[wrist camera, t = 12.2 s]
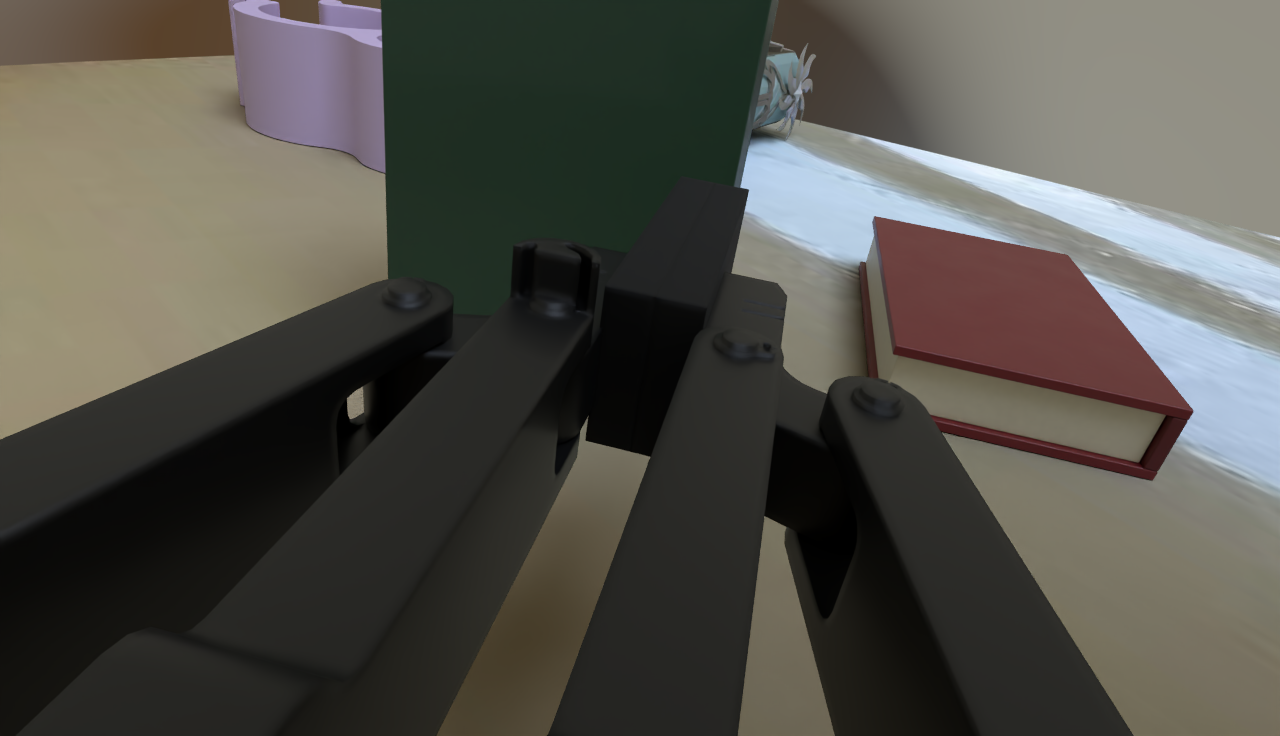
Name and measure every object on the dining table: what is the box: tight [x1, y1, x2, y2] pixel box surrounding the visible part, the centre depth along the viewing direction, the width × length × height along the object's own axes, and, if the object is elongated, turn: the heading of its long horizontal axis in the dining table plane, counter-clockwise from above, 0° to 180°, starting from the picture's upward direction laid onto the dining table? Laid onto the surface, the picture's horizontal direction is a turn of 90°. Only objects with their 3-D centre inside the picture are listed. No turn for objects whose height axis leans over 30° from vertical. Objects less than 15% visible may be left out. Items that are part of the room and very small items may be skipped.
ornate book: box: [752, 41, 816, 139], centre depth 63 cm, size 23×10×30 cm
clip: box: [228, 0, 385, 173], centre depth 50 cm, size 20×12×7 cm, turn 50°
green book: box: [381, 0, 779, 315], centre depth 24 cm, size 3×11×17 cm, turn 78°
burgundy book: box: [859, 216, 1193, 480], centre depth 34 cm, size 3×10×16 cm
